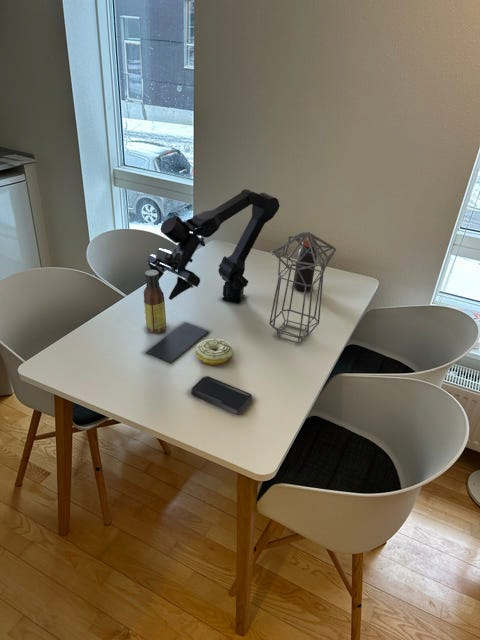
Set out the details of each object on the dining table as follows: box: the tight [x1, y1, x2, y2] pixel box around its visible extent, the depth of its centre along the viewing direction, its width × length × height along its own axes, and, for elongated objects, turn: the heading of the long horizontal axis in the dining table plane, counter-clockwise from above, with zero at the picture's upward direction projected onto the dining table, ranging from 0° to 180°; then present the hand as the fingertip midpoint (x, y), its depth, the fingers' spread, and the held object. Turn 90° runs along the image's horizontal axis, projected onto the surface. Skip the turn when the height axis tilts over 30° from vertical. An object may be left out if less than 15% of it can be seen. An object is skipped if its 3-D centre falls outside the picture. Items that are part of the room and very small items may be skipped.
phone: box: [190, 375, 253, 415], centre depth 125 cm, size 8×1×15 cm
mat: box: [145, 321, 209, 364], centre depth 146 cm, size 20×9×1 cm, turn 150°
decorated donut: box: [195, 338, 234, 366], centre depth 140 cm, size 10×11×4 cm
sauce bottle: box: [143, 269, 167, 334], centre depth 146 cm, size 7×6×20 cm
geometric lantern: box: [268, 231, 337, 344], centre depth 144 cm, size 16×16×35 cm
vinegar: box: [294, 238, 318, 293], centre depth 176 cm, size 7×7×20 cm
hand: (159, 293), depth 146 cm, fingers open, 9 cm apart
